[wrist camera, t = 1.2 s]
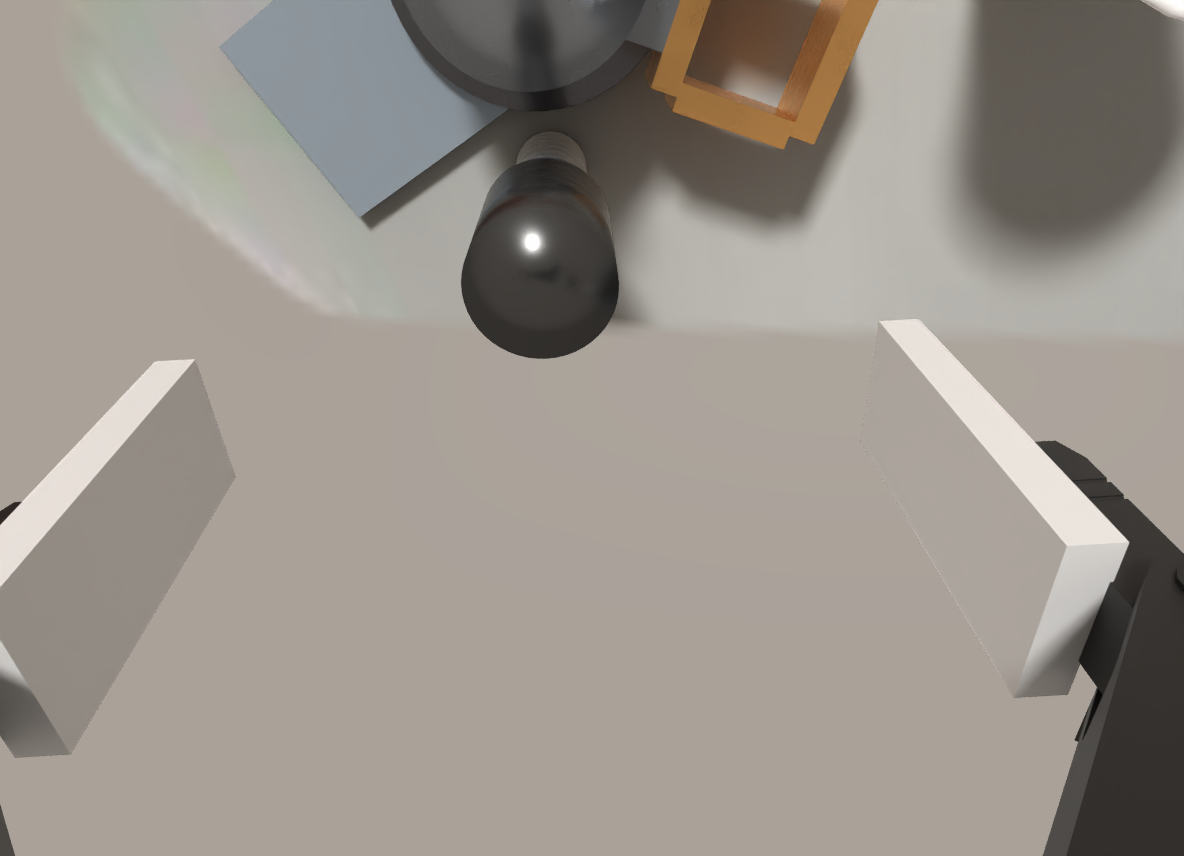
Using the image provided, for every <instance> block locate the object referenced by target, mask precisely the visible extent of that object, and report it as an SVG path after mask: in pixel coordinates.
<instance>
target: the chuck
mask: <svg viewBox="0 0 1184 856" xmlns="http://www.w3.org/2000/svg"><path fill="white" fill-rule="evenodd" d="M404 1H405V3H406V5H407V7H408V9H409V11H410V13H411V15H412V17H413V19H414V21H415V22H416V24H417V25H418V27H419V28H420V30H421V32H422V33H423V35H424V36H425V37H426V38H427V40H428V41H429V42H430V43H431V44H432V46H433V47H434V48H435V49H436V50H437V51H438V52H439V53H440V54H441V55H442V56H443V57H444V58H445V59H446V60H447V61H449V62H450V63H451V64H453V65H454V66H455V67H457V68H458V69H459V70H461V71H462V72H464V73H465V74H467V75H469V76H471V77H472V78H474V79H476V80H478V81H481V82H483V83H486V84H488V85H491V86H494V87H498V88H502V89H505V90H512V91H520V92H537V91H545V90H551V89H556V88H559V87H562V86H565V85H568V84H571V83H573V82H575V81H577V80H579V79H581V78H584V77H585V76H587V75H588V74H590V73H591V72H593V71H594V70H596V69H597V68H599V67H600V66H601V65H602V64H603V63H604V62H606V61H607V60H608V59H609V58H610V57H611V56H612V55H613V54H614V53H615V52H616V50H617V49H618V48H619V47H620V46H621V45H622V43H623V42H624V41H625V40H628V41H631V42H634V43H637V44H639V45H642V46H645V47H648V48H651V49H653V51H652V54H651V57H650V60H649V63H648V66H647V70H646V73H645V76H644V77H645V78H646V80H647V82H648V84H649V86H650V88H652V89H654V90H657V91H660V92H663V93H665V96H664V99H665V100H666V102H667V104H668V105H669V107H670V109H671V110H672V112H675V113H678V114H681V115H684V116H687V117H689V118H692V119H695V120H698V121H701V122H704V123H707V124H710V125H713V126H716V127H719V128H722V129H724V130H727V131H730V132H733V133H736V134H739V135H742V136H745V137H748V138H751V139H754V140H757V141H760V142H762V143H765V144H768V145H771V146H774V147H777V148H780V149H783V150H784V148H785V145H786V143H787V140H788V138H789V136H790V137H793V138H796V139H799V140H802V141H804V142H807V143H810V144H813V145H814V144H815V141H816V139H817V137H818V135H819V132H820V130H821V128H822V126H823V123H824V121H825V119H826V117H827V114H828V112H829V110H830V108H831V105H832V103H833V101H834V99H835V96H836V94H837V92H838V90H839V87H840V85H841V83H842V81H843V79H844V76H845V74H846V72H847V70H848V67H849V65H850V63H851V61H852V58H853V56H854V54H855V52H856V49H857V47H858V45H859V43H860V40H861V38H862V36H863V34H864V31H865V29H866V27H867V25H868V22H869V20H870V18H871V16H872V13H873V11H874V9H875V7H876V4H877V2H878V0H821V3H820V5H819V8H818V10H817V12H816V15H815V17H814V20H813V22H812V24H811V27H810V29H809V32H808V34H807V37H806V39H805V41H804V44H803V46H802V49H801V51H800V53H799V56H798V58H797V61H796V63H795V66H794V68H793V70H792V73H791V75H790V78H789V80H788V83H787V85H786V87H785V90H784V92H783V95H782V97H781V99H780V102H779V104H778V107H777V108H776V107H773V106H770V105H767V104H764V103H761V102H759V101H756V100H753V99H750V98H747V97H744V96H741V95H739V94H736V93H733V92H730V91H727V90H724V89H722V88H719V87H716V86H713V85H710V84H707V83H705V82H702V81H699V80H696V79H693V78H690V77H688V76H685V74H686V71H687V68H688V65H689V62H690V60H691V57H692V54H693V51H694V48H695V45H696V42H697V40H698V37H699V34H700V31H701V28H702V25H703V23H704V20H705V17H706V14H707V11H708V8H709V5H710V3H711V0H404Z"/></svg>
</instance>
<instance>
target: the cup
mask: <svg viewBox="0 0 1184 856" xmlns="http://www.w3.org/2000/svg"><path fill="white" fill-rule="evenodd" d="M1141 1H1143V2H1144V3H1146V4H1147V5H1149V6H1151V7H1152V8H1154V9H1155V10H1157V11H1159V12H1160V13H1162V14H1164V15H1165V16H1167V17H1171V18H1174V19H1178V20H1181V21H1184V0H1141Z"/></svg>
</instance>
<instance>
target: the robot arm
mask: <svg viewBox="0 0 1184 856" xmlns="http://www.w3.org/2000/svg"><path fill="white" fill-rule="evenodd" d="M860 443H861V444H862V446H863V448H864V449H865V451H866V453H867V454H868V455H869V458H870V459H871V461H872V463H873V464H874V466H875V468H876V469H877V471H878V473H879V474H880V476H881V478H882V479H883V481H884V483H885V484H886V486H887V488H888V489H889V491H890V493H891V495H892V496H893V498H894V500H895V501H896V503H897V504H898V506H899V508H900V510H901V511H902V513H903V515H904V516H905V518H906V520H907V521H908V523H909V524H910V526H911V528H912V530H913V531H914V533H915V534H916V536H917V538H918V540H919V541H920V543H921V545H922V546H923V548H924V549H925V551H926V553H927V555H928V556H929V558H930V560H931V561H932V563H933V565H934V566H935V568H936V570H937V571H938V573H939V575H940V576H941V578H942V580H943V581H944V583H945V584H946V586H947V588H948V590H949V591H950V593H951V595H952V596H953V598H954V600H955V601H956V603H957V605H958V606H959V608H960V610H961V611H962V613H963V615H964V616H965V618H966V620H967V621H968V623H969V625H970V626H971V628H972V630H973V631H974V633H975V635H976V636H977V638H978V640H979V641H980V643H981V645H982V646H983V648H984V650H985V651H986V653H987V654H988V656H989V658H990V660H991V661H992V663H993V664H994V666H995V668H996V670H997V671H998V673H999V675H1000V676H1001V678H1002V679H1003V681H1004V683H1005V685H1006V686H1007V688H1008V690H1009V691H1010V693H1011V695H1012V696H1013V698H1020V697H1037V696H1053V695H1067V694H1068V693H1069V690H1070V688H1071V685H1072V683H1073V680H1074V678H1075V675H1076V673H1077V671H1078V668H1079V666H1080V664H1081V665H1082V667H1083V668H1084V670H1085V671H1086V672H1087V674H1088V675H1089V676H1090V678H1091V679H1092V681H1093V682H1094V683H1095V685H1096V686H1097V689H1096V691H1095V694H1094V696H1093V698H1092V701H1091V703H1090V705H1089V708H1088V710H1087V712H1086V715H1085V717H1084V719H1083V722H1082V724H1081V726H1080V728H1079V731H1078V733H1077V735H1076V738H1075V741H1078V744H1077V748H1076V751H1075V754H1074V757H1073V761H1072V764H1071V767H1070V770H1069V774H1068V777H1067V780H1066V783H1065V786H1064V789H1063V793H1062V796H1061V799H1060V802H1059V806H1058V809H1057V812H1056V815H1055V818H1054V822H1053V825H1052V828H1051V831H1050V834H1049V838H1048V841H1047V844H1046V847H1045V851H1044V854H1043V856H1184V554H1183V553H1182V552H1181V551H1180V550H1179V549H1178V548H1177V547H1176V546H1175V545H1174V544H1173V543H1172V542H1171V541H1170V540H1169V539H1168V538H1167V537H1166V536H1165V535H1164V534H1163V533H1162V532H1161V531H1160V530H1159V529H1158V528H1157V527H1156V526H1155V525H1154V524H1153V523H1152V522H1151V521H1149V519H1148V518H1147V517H1146V516H1145V515H1144V514H1143V513H1142V512H1141V511H1140V510H1139V509H1138V508H1137V507H1136V506H1135V505H1134V504H1133V503H1132V502H1131V501H1129V500H1128V499H1124V497H1123V496H1124V495H1123V494H1122V493H1121V492H1120V491H1119V490H1118V489H1117V488H1116V487H1115V486H1114V485H1113V484H1112V483H1111V482H1107V478H1106V477H1105V476H1104V475H1103V474H1102V473H1101V472H1100V471H1099V470H1098V469H1097V468H1096V467H1095V466H1094V465H1093V464H1092V463H1091V462H1090V461H1089V460H1088V459H1087V458H1086V457H1084V456H1082V455H1080V454H1079V453H1077V452H1075V451H1073V450H1071V449H1070V448H1067V447H1066V446H1064V445H1062V444H1060V443H1059V442H1057V441H1041V442H1034V441H1033V440H1032V439H1031V438H1030V437H1029V435H1028V434H1027V433H1026V432H1025V431H1024V430H1023V429H1022V428H1021V427H1020V426H1019V425H1018V424H1017V423H1016V422H1015V421H1014V420H1013V419H1012V417H1011V416H1010V415H1009V414H1008V413H1007V412H1006V411H1005V410H1004V409H1003V408H1002V407H1001V406H1000V405H999V404H998V403H997V402H996V401H995V399H994V398H993V397H992V396H991V395H990V394H989V393H988V392H987V391H986V390H985V389H984V388H983V387H982V386H981V385H980V384H979V383H978V381H977V380H976V379H975V378H974V377H973V376H972V375H971V374H970V373H969V372H968V371H967V370H966V369H965V368H964V367H963V366H962V365H961V363H960V362H959V361H958V360H957V359H956V358H955V357H954V356H953V355H952V354H951V353H950V352H949V351H948V350H947V349H946V348H945V347H944V346H943V344H942V343H941V342H940V341H939V340H938V339H937V338H936V337H935V336H934V335H933V334H932V333H931V332H930V331H929V330H928V329H927V327H926V326H925V325H924V324H923V323H922V322H921V321H920V320H919V319H910V320H892V321H879V324H878V330H877V336H876V343H875V349H874V355H873V362H872V368H871V374H870V380H869V387H868V393H867V399H866V405H865V412H864V418H863V424H862V430H861V437H860ZM234 479H235V474H234V471H233V468H232V465H231V462H230V459H229V456H228V453H227V450H226V447H225V445H224V442H223V439H222V436H221V433H220V430H219V427H218V424H217V421H216V418H215V415H214V412H213V410H212V407H211V404H210V401H209V398H208V395H207V392H206V389H205V386H204V384H203V381H202V377H201V374H200V372H199V369H198V366H197V363H196V360H195V359H192V360H173V361H156V362H154V363H153V364H152V365H151V366H150V368H149V369H148V370H147V371H146V372H145V373H144V374H143V375H142V376H141V377H140V378H139V379H138V380H137V381H136V382H135V383H134V384H133V385H132V386H131V387H130V389H129V390H128V391H127V392H126V393H125V394H124V395H123V396H122V397H121V398H120V399H119V400H118V401H117V402H116V403H115V404H114V406H113V407H112V408H111V409H110V410H109V411H108V412H107V413H106V414H105V415H104V416H103V417H102V418H101V419H100V420H99V421H98V422H97V424H95V426H94V427H93V428H92V429H91V430H90V431H89V432H88V433H87V434H86V435H85V436H84V437H83V438H82V439H81V440H80V441H79V442H78V444H77V445H76V446H75V447H74V448H73V449H72V450H71V451H70V452H69V453H68V454H67V455H66V456H65V457H64V459H62V461H60V463H59V464H58V465H57V466H56V467H55V468H54V469H53V470H52V471H51V472H50V473H49V474H48V475H47V476H46V477H45V478H44V480H43V481H42V482H41V483H40V484H39V485H38V486H37V487H36V488H35V489H34V490H33V491H32V492H31V493H30V494H29V495H28V496H27V498H26V499H25V500H24V501H23V502H14V503H12V504H11V505H9V506H8V507H6V508H4V509H3V510H1V511H0V736H1V738H2V739H3V741H4V742H5V744H6V745H7V747H8V748H9V749H10V751H11V752H12V754H13V755H14V757H15V758H18V757H19V758H20V757H36V756H53V755H69V754H71V753H72V751H73V750H74V748H75V746H76V745H77V743H78V741H79V740H80V738H81V736H82V734H83V733H84V731H85V730H86V728H87V726H88V724H89V723H90V721H91V719H92V718H93V716H94V714H95V713H96V711H97V709H98V708H99V706H100V704H101V702H102V701H103V699H104V698H105V696H106V694H107V693H108V691H109V689H110V688H111V686H112V684H113V682H114V681H115V679H116V677H117V676H118V674H119V672H120V671H121V669H122V667H123V666H124V664H125V662H126V661H127V659H128V657H129V656H130V654H131V652H132V650H133V649H134V647H135V645H136V644H137V642H138V640H139V639H140V637H141V635H142V634H143V632H144V630H145V629H146V627H147V625H148V624H149V622H150V620H151V619H152V617H153V615H154V613H155V612H156V610H157V608H158V607H159V605H160V603H161V602H162V600H163V598H164V597H165V595H166V593H167V592H168V590H169V588H170V587H171V585H172V583H173V582H174V580H175V578H176V577H177V575H178V573H179V571H180V570H181V568H182V566H183V565H184V563H185V561H186V560H187V558H188V556H189V554H190V553H191V551H192V549H193V548H194V546H195V545H196V543H197V541H198V539H199V538H200V536H201V534H202V533H203V531H204V529H205V528H206V526H207V524H208V523H209V521H210V519H211V518H212V516H213V514H214V513H215V510H216V509H217V507H218V506H219V504H220V502H221V501H222V499H223V497H224V496H225V494H226V492H227V491H228V489H229V487H230V486H231V484H232V482H233V481H234ZM0 856H15V854H14V851H13V847H12V844H11V840H10V837H9V834H8V830H7V827H6V823H5V820H4V816H3V813H2V809H1V806H0Z"/></svg>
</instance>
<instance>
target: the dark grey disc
mask: <svg viewBox="0 0 1184 856" xmlns="http://www.w3.org/2000/svg"><path fill="white" fill-rule="evenodd" d="M391 2H392V5H393V7H394V9H395V11H396V13H397V15H398V18H399V20H400V22H401V24H402V26H403V27H404V29H405V30H406V32H407V34H408V35H409V37H410V38H411V40H412V42H413V43H414V44H415V46H416V47H417V48H418V49H419V51H420V52H421V53H422V54H423V56H424V57H425V58H426V59H427V60H428V61H429V62H430V63H431V64H432V65H433V66H434V67H435V68H436V69H437V70H438V71H439V72H440V73H441V74H442V75H443V76H444V77H446V78H447V79H448V80H450V81H451V82H452V83H453V84H455V85H456V86H458V87H459V88H461V89H463V90H464V91H466V92H468V93H469V94H471V95H473V96H475V97H477V98H479V99H482V100H484V101H486V102H489V103H491V104H495V105H498V106H502V107H505V108H509V109H516V110H523V111H548V110H556V109H563V108H566V107H570V106H573V105H577V104H580V103H583V102H585V101H587V100H589V99H592V98H594V97H596V96H598V95H600V94H601V93H603V92H605V91H606V90H608V89H610V88H611V87H613V86H614V85H615V84H617V83H618V82H619V81H620V80H621V79H623V78H624V77H625V76H626V75H628V74H629V73H630V71H631V70H632V69H633V68H634V67H635V66H636V65H637V64H638V63H639V62H640V61H641V60H642V58H643V57H644V56H645V54H646V53H647V52H648V50H649V49H650V48H648V47H645V46H642V45H639V44H637V43H634V42H631V41H628V40H625V41H624V42H623V43H622V45H621V46H620V47H619V48H618V49H617V50H616V52H615V53H614V54H613V55H612V56H611V57H610V58H609V59H608V60H607V61H606V62H604V63H603V64H602V65H601V66H600V67H599V68H597V69H596V70H594V71H593V72H591V73H590V74H588V75H587V76H585V77H584V78H581V79H579V80H577V81H575V82H573V83H571V84H568V85H565V86H562V87H559V88H556V89H551V90H545V91H537V92H520V91H512V90H505V89H502V88H498V87H494V86H491V85H488V84H486V83H483V82H481V81H478V80H476V79H474V78H472V77H471V76H469V75H467V74H465V73H464V72H462V71H461V70H459V69H458V68H457V67H455V66H454V65H453V64H451V63H450V62H449V61H447V60H446V59H445V58H444V57H443V56H442V55H441V54H440V53H439V52H438V51H437V50H436V49H435V48H434V47H433V46H432V44H431V43H430V42H429V41H428V40H427V38H426V37H425V36H424V35H423V33H422V32H421V30H420V28H419V27H418V25H417V24H416V22H415V21H414V19H413V17H412V15H411V13H410V11H409V9H408V7H407V5H406V3H405V1H404V0H391Z"/></svg>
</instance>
